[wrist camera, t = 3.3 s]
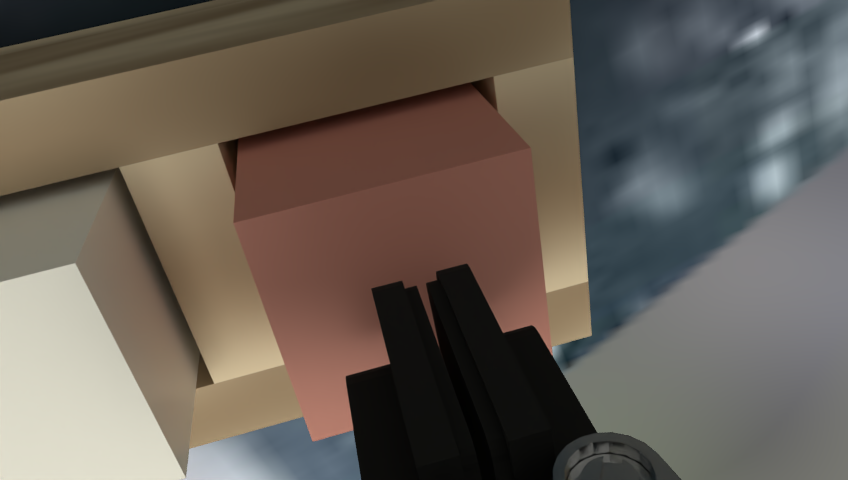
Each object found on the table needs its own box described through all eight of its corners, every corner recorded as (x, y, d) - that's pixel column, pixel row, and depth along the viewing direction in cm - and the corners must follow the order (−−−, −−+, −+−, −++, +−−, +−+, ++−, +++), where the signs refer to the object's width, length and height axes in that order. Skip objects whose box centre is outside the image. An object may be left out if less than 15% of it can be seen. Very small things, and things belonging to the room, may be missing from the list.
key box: (-525, 165, 16) (-854, 297, 11) (486, -61, 18) (567, -31, 13) (-260, 441, 20) (-413, 618, 16) (522, 235, 23) (591, 335, 18)
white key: (-135, 225, 14) (-262, 348, 10) (118, 164, 14) (75, 263, 11) (-11, 407, 16) (-82, 553, 13) (200, 351, 17) (186, 477, 13)
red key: (238, 136, 15) (233, 223, 11) (468, 80, 15) (531, 147, 12) (301, 323, 17) (312, 441, 14) (496, 271, 18) (554, 372, 14)
